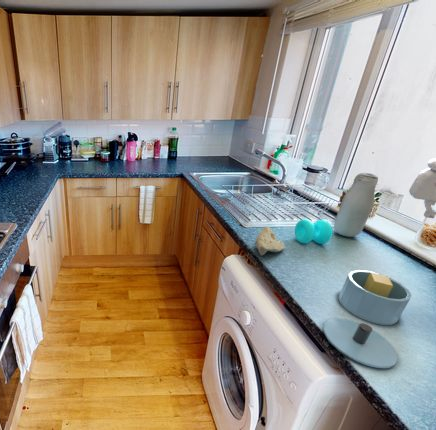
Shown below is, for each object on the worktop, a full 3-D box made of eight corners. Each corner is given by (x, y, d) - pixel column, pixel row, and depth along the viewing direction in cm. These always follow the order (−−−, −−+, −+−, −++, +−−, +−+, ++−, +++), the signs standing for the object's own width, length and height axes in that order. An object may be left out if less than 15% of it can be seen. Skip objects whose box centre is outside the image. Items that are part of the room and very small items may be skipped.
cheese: (267, 245, 120) (244, 224, 117) (284, 238, 116) (260, 216, 112) (270, 274, 110) (245, 252, 106) (289, 267, 105) (263, 244, 101)
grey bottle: (351, 231, 130) (375, 171, 118) (363, 241, 121) (391, 178, 109) (326, 228, 132) (348, 169, 120) (336, 238, 123) (361, 176, 111)
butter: (374, 303, 86) (388, 276, 81) (378, 314, 82) (393, 285, 77) (357, 298, 87) (370, 271, 83) (360, 308, 83) (374, 281, 79)
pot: (390, 301, 87) (402, 279, 83) (404, 332, 76) (419, 307, 73) (336, 287, 93) (345, 265, 89) (342, 313, 82) (353, 289, 79)
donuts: (290, 235, 124) (297, 215, 120) (314, 236, 124) (321, 215, 120) (303, 247, 115) (311, 225, 111) (328, 248, 115) (337, 226, 111)
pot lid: (386, 335, 75) (395, 319, 73) (404, 381, 63) (416, 363, 61) (320, 314, 82) (326, 298, 79) (325, 352, 70) (333, 335, 68)
